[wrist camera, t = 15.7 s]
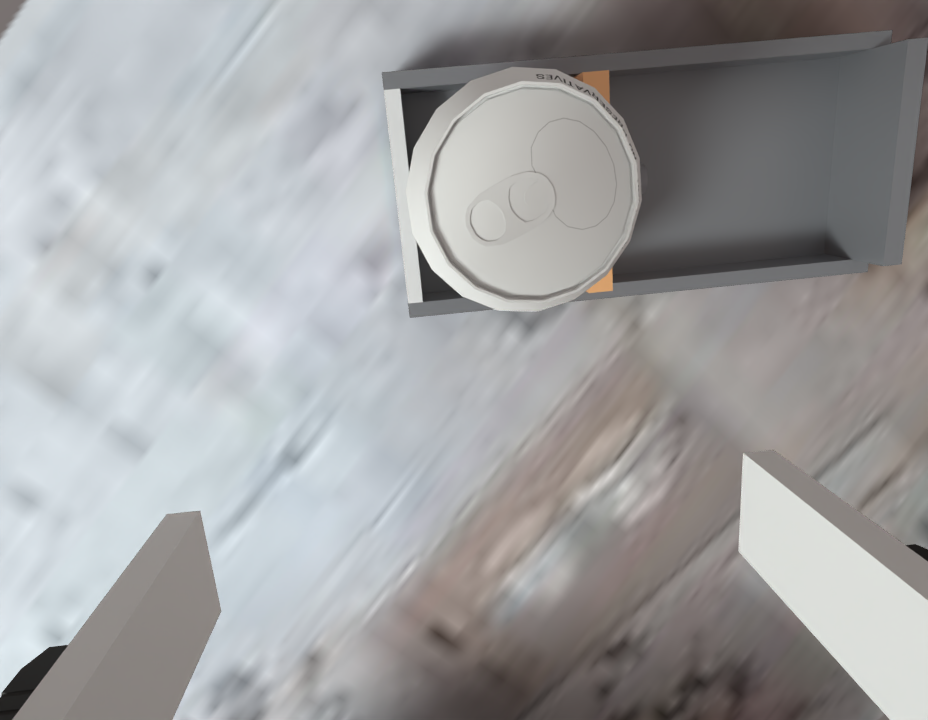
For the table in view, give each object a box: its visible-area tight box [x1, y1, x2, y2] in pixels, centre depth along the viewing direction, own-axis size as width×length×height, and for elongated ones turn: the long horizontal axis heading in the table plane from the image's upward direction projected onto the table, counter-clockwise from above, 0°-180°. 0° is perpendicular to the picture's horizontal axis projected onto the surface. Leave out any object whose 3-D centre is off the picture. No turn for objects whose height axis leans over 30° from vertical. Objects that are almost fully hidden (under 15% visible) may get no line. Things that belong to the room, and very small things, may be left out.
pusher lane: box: [382, 30, 928, 318], centre depth 34 cm, size 12×26×6 cm, turn 95°
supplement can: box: [406, 67, 642, 312], centre depth 28 cm, size 8×8×15 cm
